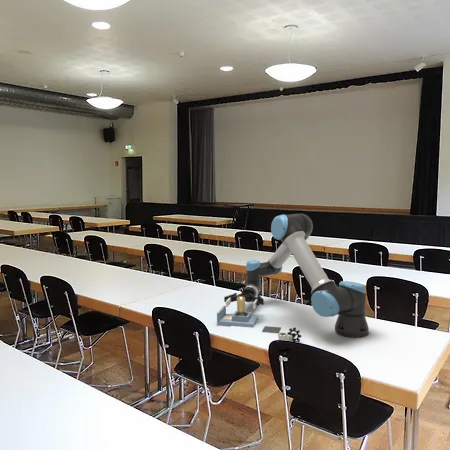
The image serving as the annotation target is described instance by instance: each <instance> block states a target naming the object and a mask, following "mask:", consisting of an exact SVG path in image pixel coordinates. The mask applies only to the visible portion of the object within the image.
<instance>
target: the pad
mask: <svg viewBox="0 0 450 450" xmlns="http://www.w3.org/2000/svg"><path fill="white" fill-rule="evenodd" d="M281 329H282V327H279V326H271V325H270V326H269V325H267V326H266V325H265V326H264V327H263V328H262V330H261V333H268V334H269V333H270V334H279V333H281Z"/></svg>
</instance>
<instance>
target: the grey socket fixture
mask: <svg viewBox="0 0 450 450" xmlns="http://www.w3.org/2000/svg"><path fill="white" fill-rule="evenodd" d="M245 313H246V316H237V310H235V311H234V313H233V314H232V313H227V307H226V305H223V306H222V307H221V308H220V309H219V310H218V311H217V312H216V325H217V326H223V327H224V326H225V327H232V326H233V327H242V328H244V327H245V328H255V326H256V324H257V322H258V320H259V316H258V315H252V311H245Z"/></svg>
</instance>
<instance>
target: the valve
mask: <svg viewBox="0 0 450 450" xmlns="http://www.w3.org/2000/svg"><path fill="white" fill-rule="evenodd" d="M292 332H293V333H292ZM300 332H301V331H300V330H299V329H298V330H297V328H296V327H292V328H289V329H288V332H279V333H277V337H278V339H277V341H278V340H286V341H290V342H291V340H292V342H294V341H295V342H298V343H299V342H300V341H301V338H302V335H301V334H300Z"/></svg>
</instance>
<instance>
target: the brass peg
mask: <svg viewBox="0 0 450 450" xmlns="http://www.w3.org/2000/svg"><path fill="white" fill-rule="evenodd" d="M236 311H237V316H246V313H245V312H246V301H245V297H244V296H238V297H237V301H236Z"/></svg>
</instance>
